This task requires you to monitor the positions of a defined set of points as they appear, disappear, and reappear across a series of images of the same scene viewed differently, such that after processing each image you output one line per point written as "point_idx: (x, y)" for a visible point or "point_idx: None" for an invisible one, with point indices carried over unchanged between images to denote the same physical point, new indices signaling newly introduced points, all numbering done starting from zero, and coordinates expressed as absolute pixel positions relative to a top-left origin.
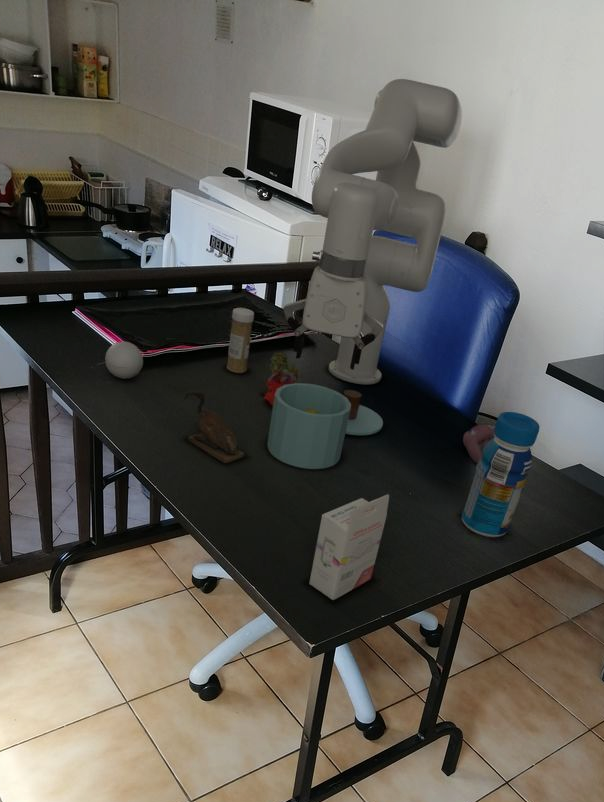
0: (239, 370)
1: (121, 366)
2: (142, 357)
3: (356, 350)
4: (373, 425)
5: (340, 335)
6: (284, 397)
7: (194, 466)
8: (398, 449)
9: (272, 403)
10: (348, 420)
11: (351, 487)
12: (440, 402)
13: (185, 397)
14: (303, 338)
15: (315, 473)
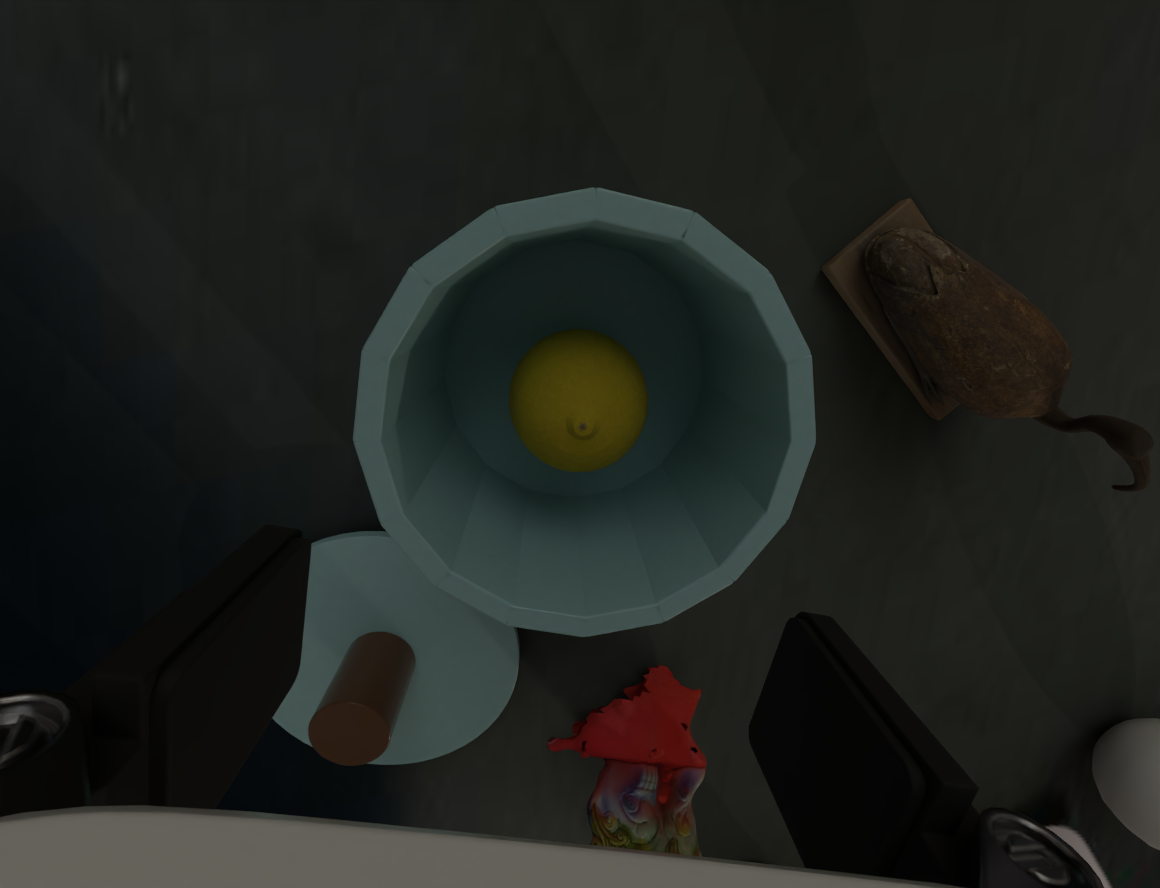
0: None
1: None
2: (1140, 808)
3: (130, 659)
4: None
5: (371, 829)
6: (714, 524)
7: (1019, 152)
8: (181, 474)
9: (668, 674)
10: (381, 625)
11: (395, 87)
12: None
13: (1123, 486)
14: (880, 807)
15: (544, 189)
